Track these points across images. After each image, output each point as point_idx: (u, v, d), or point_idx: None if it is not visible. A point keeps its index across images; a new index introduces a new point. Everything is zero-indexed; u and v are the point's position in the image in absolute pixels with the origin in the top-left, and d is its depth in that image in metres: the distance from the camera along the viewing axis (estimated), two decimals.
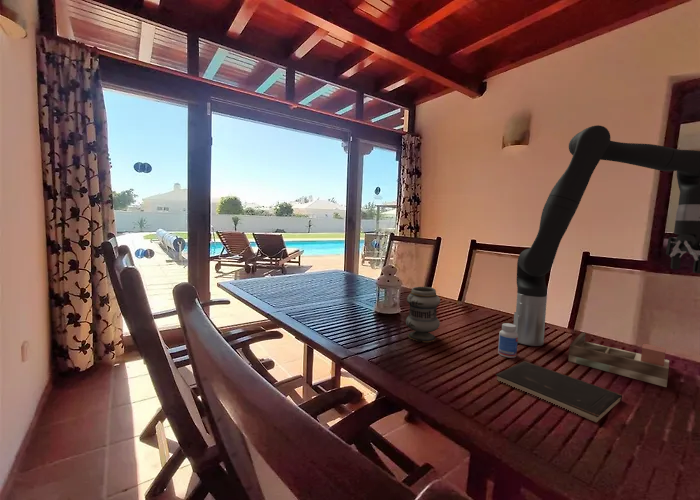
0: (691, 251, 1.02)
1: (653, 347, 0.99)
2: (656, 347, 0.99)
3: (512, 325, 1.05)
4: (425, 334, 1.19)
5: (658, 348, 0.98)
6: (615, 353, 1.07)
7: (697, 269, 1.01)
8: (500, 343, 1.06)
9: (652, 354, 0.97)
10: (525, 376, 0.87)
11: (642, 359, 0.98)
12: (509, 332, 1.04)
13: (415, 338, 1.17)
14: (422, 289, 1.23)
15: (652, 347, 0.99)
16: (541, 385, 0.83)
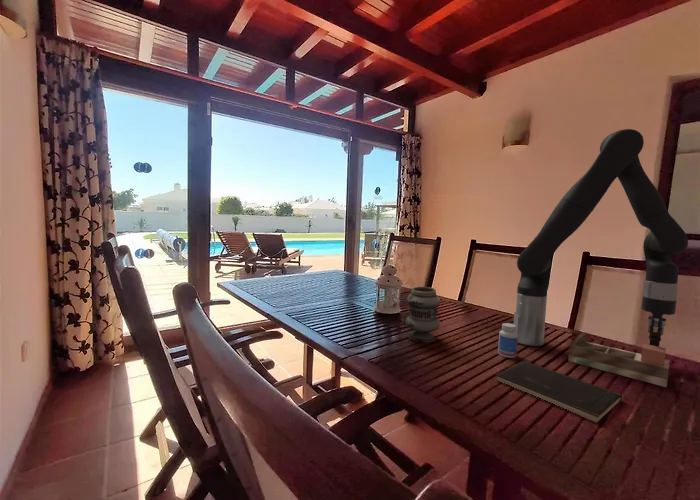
0: None
1: (653, 347, 0.99)
2: (656, 347, 0.99)
3: (512, 325, 1.05)
4: (425, 334, 1.19)
5: (658, 348, 0.98)
6: (615, 353, 1.07)
7: None
8: (500, 343, 1.06)
9: (652, 354, 0.97)
10: (524, 377, 0.87)
11: (642, 359, 0.98)
12: (509, 332, 1.04)
13: (415, 338, 1.17)
14: (422, 289, 1.23)
15: (652, 347, 0.99)
16: (541, 385, 0.83)
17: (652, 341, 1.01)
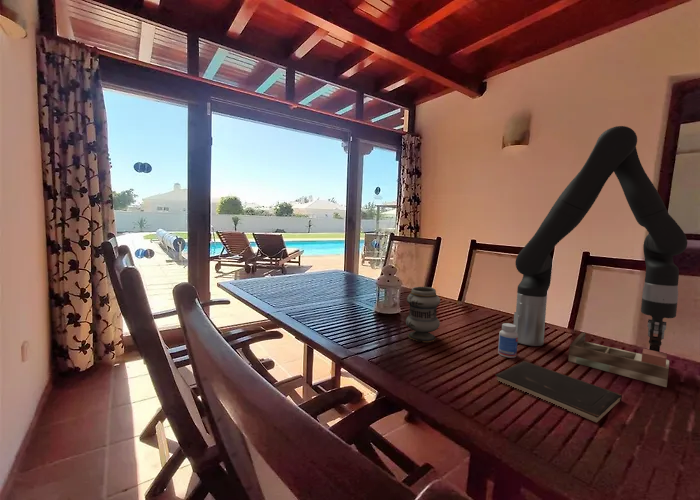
0: None
1: (654, 352, 0.95)
2: (657, 352, 0.95)
3: (512, 325, 1.05)
4: (425, 334, 1.19)
5: (659, 353, 0.94)
6: (615, 353, 1.07)
7: None
8: (500, 343, 1.06)
9: (653, 359, 0.93)
10: (524, 377, 0.87)
11: None
12: (509, 332, 1.04)
13: (415, 338, 1.17)
14: (422, 289, 1.23)
15: (653, 352, 0.95)
16: (541, 385, 0.83)
17: (652, 346, 0.97)
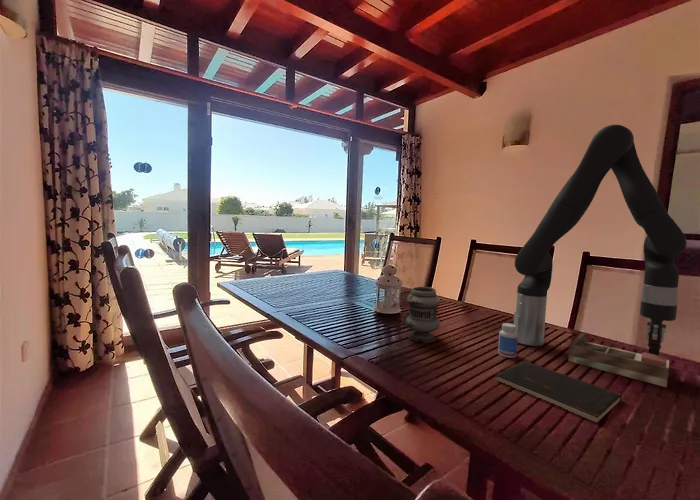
0: None
1: (653, 356, 0.92)
2: (656, 356, 0.92)
3: (512, 325, 1.05)
4: (425, 334, 1.19)
5: (659, 357, 0.91)
6: (615, 353, 1.07)
7: None
8: (500, 343, 1.06)
9: (652, 363, 0.90)
10: (524, 377, 0.87)
11: None
12: (509, 332, 1.04)
13: (415, 338, 1.17)
14: (422, 289, 1.23)
15: (652, 356, 0.92)
16: (541, 385, 0.83)
17: (651, 349, 0.94)
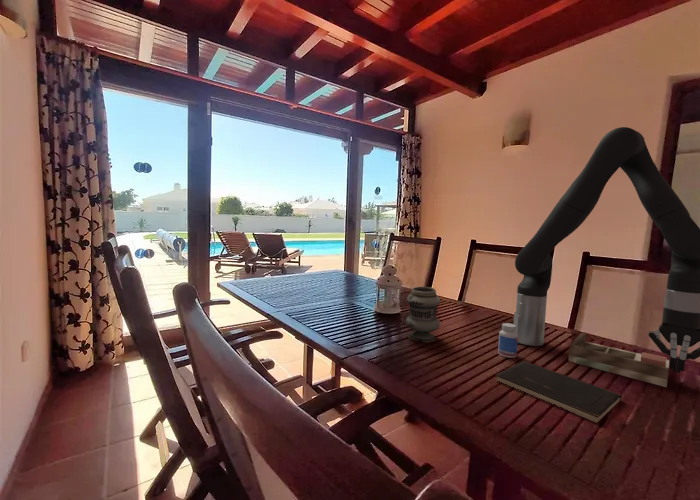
0: (685, 349, 0.86)
1: (653, 356, 0.92)
2: (656, 356, 0.92)
3: (512, 325, 1.05)
4: (425, 334, 1.19)
5: (659, 357, 0.91)
6: (615, 353, 1.07)
7: (682, 369, 0.87)
8: (500, 343, 1.06)
9: (652, 363, 0.90)
10: (524, 377, 0.87)
11: None
12: (509, 332, 1.04)
13: (415, 338, 1.17)
14: (422, 289, 1.23)
15: (652, 356, 0.92)
16: (541, 385, 0.83)
17: None
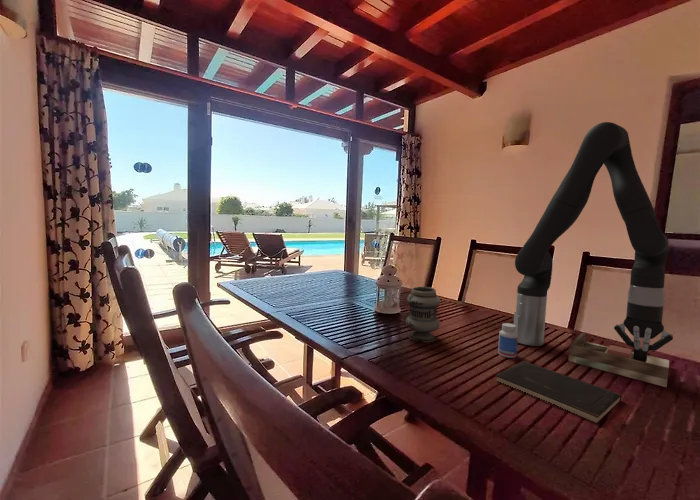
0: (647, 341, 0.91)
1: (619, 348, 0.97)
2: (622, 348, 0.97)
3: (512, 325, 1.05)
4: (425, 334, 1.19)
5: (624, 349, 0.96)
6: None
7: (645, 360, 0.93)
8: (500, 343, 1.06)
9: (617, 355, 0.95)
10: (524, 377, 0.87)
11: None
12: (509, 332, 1.04)
13: (415, 338, 1.17)
14: (422, 289, 1.23)
15: (618, 348, 0.97)
16: (541, 385, 0.83)
17: None
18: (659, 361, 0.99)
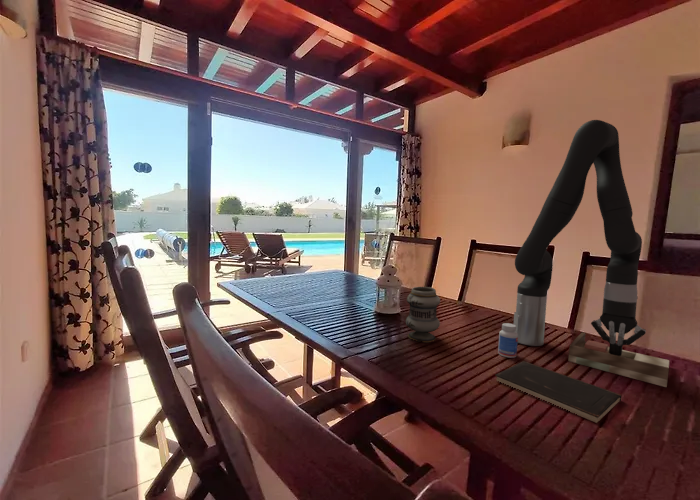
0: (621, 336, 0.95)
1: (596, 343, 1.01)
2: (599, 343, 1.01)
3: (512, 325, 1.05)
4: (425, 334, 1.19)
5: (601, 344, 1.00)
6: None
7: (619, 354, 0.96)
8: (500, 343, 1.06)
9: None
10: (524, 377, 0.87)
11: None
12: (509, 332, 1.04)
13: (415, 338, 1.17)
14: (422, 289, 1.23)
15: (595, 343, 1.01)
16: (541, 385, 0.83)
17: None
18: (659, 361, 0.99)
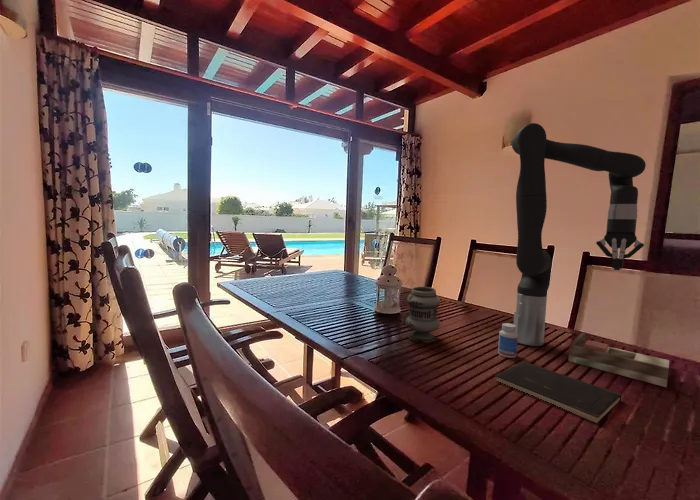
0: (622, 250, 1.09)
1: (596, 343, 1.01)
2: (598, 343, 1.01)
3: (512, 325, 1.05)
4: (425, 334, 1.19)
5: (600, 344, 1.00)
6: (615, 353, 1.07)
7: (621, 267, 1.10)
8: (500, 343, 1.06)
9: None
10: (524, 377, 0.87)
11: None
12: (509, 332, 1.04)
13: (415, 338, 1.17)
14: (422, 289, 1.23)
15: (595, 343, 1.01)
16: (541, 386, 0.83)
17: None
18: (659, 361, 0.99)
